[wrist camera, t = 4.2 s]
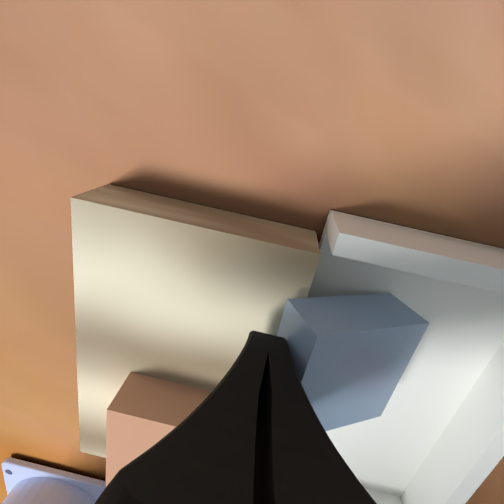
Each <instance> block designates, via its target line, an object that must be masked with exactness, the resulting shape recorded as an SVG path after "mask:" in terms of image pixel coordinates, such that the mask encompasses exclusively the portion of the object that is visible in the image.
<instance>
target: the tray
mask: <svg viewBox="0 0 504 504" xmlns="http://www.w3.org/2000/svg"><path fill="white" fill-rule="evenodd" d="M319 249H320V253H321V255H320V259H319V262H318V265H317V268H316V271H315V274H314V278H313V281H312V284H311V287H310V290H309V293H308V297H307V298H312V297H329V296H346V295H363V294H381V293H391V294H392V295H394V296H395V297H396V298H397V299H399V300H400V301H401V302H403V303H404V304H405V305H407V306H408V307H409V308H411V309H412V310H413V311H414V312H416V313H417V314H418V315H420V316H421V317H422V318H424V319H425V320H426V321H428V322H429V325H428V327H427V329H426V331H425V333H424V334H423V336H422V338H421V340H420V342H419V344H418V346H417V348H416V350H415V352H414V354H413V356H412V357H411V359H410V361H409V363H408V365H407V367H406V369H405V371H404V373H403V375H402V377H401V378H400V380H399V382H398V384H397V386H396V388H395V390H394V392H393V394H392V396H391V398H390V400H389V401H388V403H387V405H386V407H385V409H384V411H383V413H382V415H381V416H380V417H376V418H372V419H369V420H365V421H362V422H358V423H354V424H351V425H347V426H343V427H340V428H336V429H332V430H329V431H326V433H327V435H328V436H329V438H330V439H331V441H332V443H333V444H334V446H335V447H336V449H337V451H338V452H339V454H340V455H341V456H342V458H343V459H344V461H345V462H346V464H347V465H348V466H349V468H350V469H351V471H352V472H353V473H354V475H355V476H356V478H357V479H358V480H359V482H360V483H361V484H362V486H363V487H364V488H365V489H366V491H367V492H368V493H369V495H370V496H371V497H372V498H373V500H374V501H375V502H376V503H377V504H465V503H466V502H467V501H468V500H469V498H470V497H471V496H472V495H473V493H474V492H475V491H476V490H477V488H478V487H479V486H480V485H481V484H482V482H483V481H484V480H485V479H486V477H487V476H488V475H489V474H490V472H491V471H492V470H493V469H494V468H495V466H496V465H497V464H498V463H499V461H500V460H501V459H502V458H503V456H504V249H502V248H498V247H493V246H489V245H484V244H480V243H476V242H471V241H467V240H462V239H458V238H453V237H449V236H444V235H440V234H435V233H431V232H426V231H422V230H418V229H413V228H409V227H404V226H400V225H395V224H391V223H386V222H382V221H377V220H373V219H369V218H364V217H360V216H355V215H351V214H346V213H342V212H337V211H333V210H330V211H329V214H328V217H327V220H326V223H325V227H324V230H323V233H322V236H321V240H320V243H319Z"/></svg>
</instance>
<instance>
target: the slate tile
mask: <svg viewBox="0 0 504 504" xmlns="http://www.w3.org/2000/svg"><path fill="white" fill-rule="evenodd" d="M428 325H429V322H428V321H426V320H425V319H424V318H422V317H421V316H420V315H418V314H417V313H416V312H414V311H413V310H412V309H411V308H409V307H408V306H407V305H405V304H404V303H403V302H401V301H400V300H399V299H397V298H396V297H395V296H394V295H392V294H391V293H381V294H363V295H346V296H329V297H312V298H294V299H287V301H286V305H285V308H284V312H283V315H282V319H281V322H280V326H279V329H278V333H277V336H279V337H283V338H285V339H286V341H287V344H288V348H289V351H290V354H291V357H292V360H293V363H294V366H295V369H296V371H297V374H298V376H299V379H300V381H301V384H302V386H303V388H304V391H305V393H306V395H307V397H308V399H309V401H310V403H311V405H312V407H313V409H314V411H315V413H316V415H317V417H318V419H319V421H320V422H321V424H322V426H323V428H324V429H325V431H329V430H332V429H336V428H340V427H343V426H347V425H351V424H354V423H358V422H362V421H365V420H369V419H372V418H376V417H380V416H381V415H382V413H383V411H384V409H385V407H386V405H387V403H388V401H389V400H390V398H391V396H392V394H393V392H394V390H395V388H396V386H397V384H398V382H399V380H400V378H401V377H402V375H403V373H404V371H405V369H406V367H407V365H408V363H409V361H410V359H411V357H412V356H413V354H414V352H415V350H416V348H417V346H418V344H419V342H420V340H421V338H422V336H423V334H424V333H425V331H426V329H427V327H428Z"/></svg>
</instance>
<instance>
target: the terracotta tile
mask: <svg viewBox="0 0 504 504" xmlns="http://www.w3.org/2000/svg"><path fill="white" fill-rule="evenodd" d="M211 392H212V391H208V390H204V389H200V388H196V387H192V386H187V385H183V384H179V383H175V382H171V381H167V380H163V379H158V378H154V377H150V376H146V375H142V374H138V373H134V372H130V373H129V375H128V377H127V378H126V380H125V381H124V383H123V385H122V386H121V388H120V389H119V391H118V392H117V394H116V396H115V397H114V399H113V400H112V402H111V403H110V405H109V407H108V408H107V421H106V487H107V485H108V484H109V483H110V481H111V480H112V479H113V478H114V476H115V475H116V474H117V473H118V471H119V470H120V469H121V468H123V467H124V466H126V465H127V464H128V463H130V462H131V461H133V460H134V459H136V458H137V457H138V456H140V455H141V454H143V453H144V452H145V451H147V450H148V449H150V448H151V447H152V446H153V445H155V444H156V443H157V442H159V441H160V440H161V439H162V438H163V437H165V436H166V435H167V434H168V433H169V432H171V431H172V430H173V429H174V428H175V427H177V426H178V425H179V424H180V423H181V422H182V421H183V420H184V419H186V418H187V417H188V416H189V415H190V414H191V413H192V412H193V411H194V410H195V409H196V408H197V407H198V406H199V405H200V404H201V403H202V402H203V401H204V400H205V399H206V397H207V396H208V395H209V394H210V393H211Z"/></svg>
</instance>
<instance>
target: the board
mask: <svg viewBox="0 0 504 504" xmlns="http://www.w3.org/2000/svg"><path fill="white" fill-rule="evenodd" d="M71 218H72V245H73V271H74V298H75V324H76V351H77V377H78V404H79V430H80V452H84V453H88V454H92V455H96V456H100V457H104V458H106V421H107V408H108V407H109V405H110V403H111V402H112V400H113V399H114V397H115V396H116V394H117V392H118V391H119V389H120V388H121V386H122V385H123V383H124V381H125V380H126V378H127V377H128V375H129V373H130V372H134V373H138V374H142V375H146V376H150V377H154V378H158V379H163V380H167V381H171V382H175V383H179V384H183V385H187V386H192V387H196V388H200V389H204V390H208V391H213V390H214V388H215V387H216V386H217V385H218V384H219V382H220V381H221V380H222V379H223V377H224V376H225V375H226V373H227V372H228V371H229V369H230V368H231V367H232V365H233V364H234V362H235V361H236V359H237V357H238V356H239V354H240V353H241V351H242V349H243V347H244V345H245V343H246V341H247V339H248V336H249V332H251V331H253V330H254V331H258V332H262V333H266V334H271V335H275V336H277V333H278V329H279V326H280V322H281V319H282V315H283V312H284V308H285V305H286V301H287V299H294V298H307V297H308V293H309V290H310V287H311V284H312V281H313V278H314V274H315V271H316V268H317V265H318V262H319V259H320V255H321V253H320V249H319V244H318V239H317V235H316V231H314V230H309V229H305V228H301V227H296V226H292V225H287V224H283V223H279V222H274V221H270V220H265V219H261V218H256V217H252V216H248V215H243V214H239V213H234V212H230V211H226V210H221V209H217V208H212V207H208V206H203V205H199V204H195V203H190V202H186V201H181V200H177V199H173V198H168V197H164V196H159V195H155V194H150V193H146V192H142V191H137V190H133V189H128V188H124V187H120V186H115V185H111V184H107V185H104V186H101V187H98V188H96V189H93V190H90V191H87V192H84V193H82V194H79V195H76V196H73V197H71Z"/></svg>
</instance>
